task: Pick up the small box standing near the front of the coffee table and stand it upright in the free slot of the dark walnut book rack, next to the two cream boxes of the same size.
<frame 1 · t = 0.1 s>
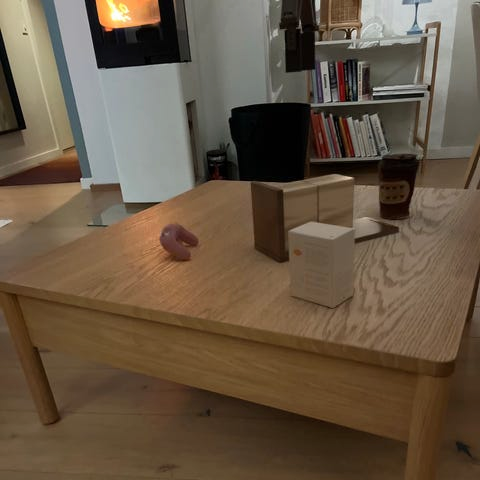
hand: (301, 71, 89), 30 cm above the table, tool pointing down, fingers open, 13 cm apart
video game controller: (181, 253, 95), on the table
small box: (321, 297, 73), on the table
coffee cup: (394, 217, 106), on the table
book rack: (327, 240, 95), on the table
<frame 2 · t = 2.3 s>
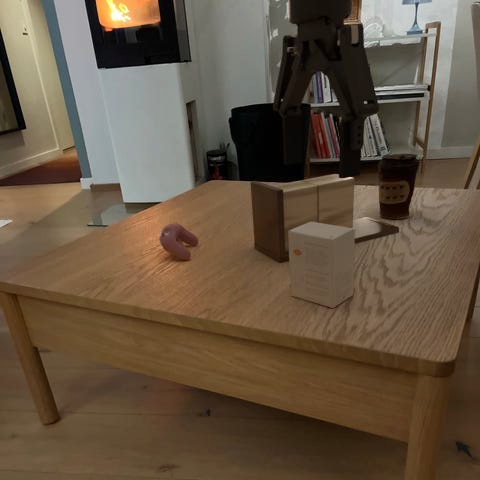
hand: (318, 169, 65), 19 cm above the table, tool pointing down, fingers open, 13 cm apart
nothing on the table moved.
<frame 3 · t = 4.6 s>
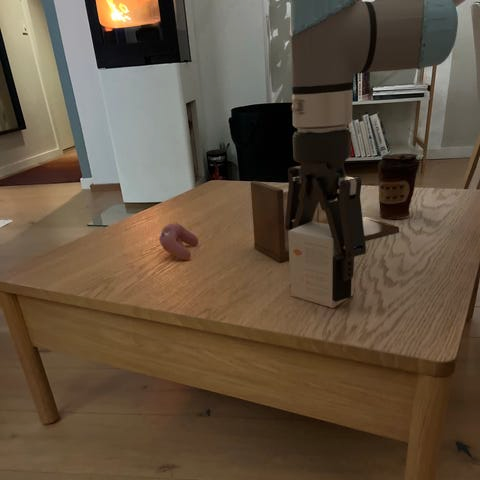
hand: (321, 287, 72), 2 cm above the table, tool pointing down, fingers closed on small box, 9 cm apart
small box: (321, 297, 73), on the table, touching gripper
everything else where it was.
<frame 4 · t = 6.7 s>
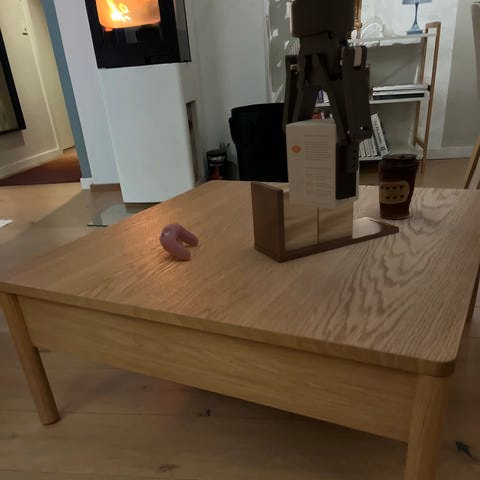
hand: (323, 191, 65), 16 cm above the table, tool pointing down, fingers closed on small box, 9 cm apart
small box: (323, 203, 66), point 14 cm above the table, touching gripper
everything else where it was.
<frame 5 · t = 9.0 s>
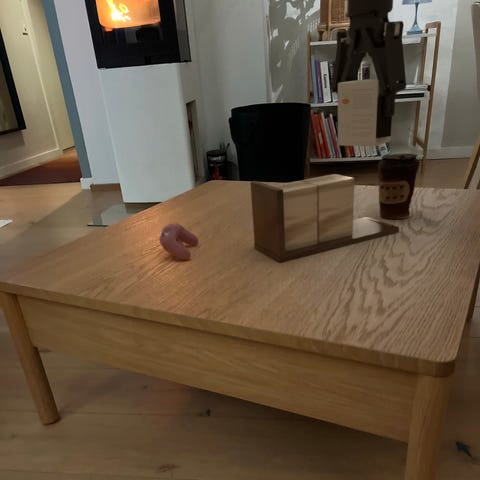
hand: (364, 135, 86), 19 cm above the table, tool pointing down, fingers closed on small box, 9 cm apart
small box: (363, 145, 87), point 18 cm above the table, touching gripper
everything else where it was.
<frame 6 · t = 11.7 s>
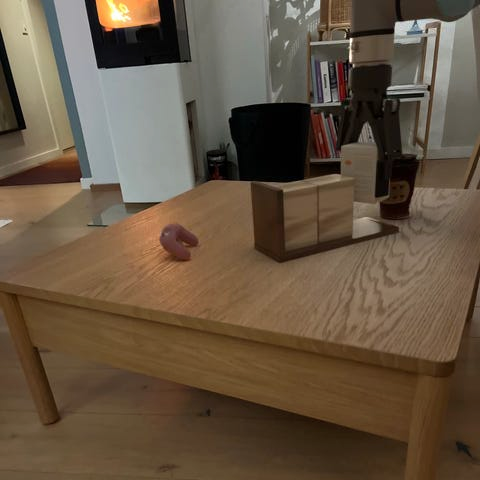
hand: (364, 191, 95), 8 cm above the table, tool pointing down, fingers closed on small box, 9 cm apart
small box: (364, 200, 96), point 6 cm above the table, touching gripper
everything else where it was.
when the fingers open (2 cm above the table, at t = 13.6 s): small box stays where it is, resting on book rack.
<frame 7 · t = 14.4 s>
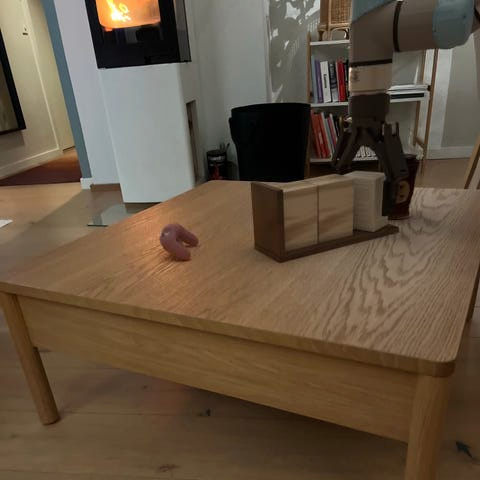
hand: (365, 208, 96), 5 cm above the table, tool pointing down, fingers open, 13 cm apart
small box: (363, 227, 98), point 1 cm above the table, touching book rack
everything else where it was.
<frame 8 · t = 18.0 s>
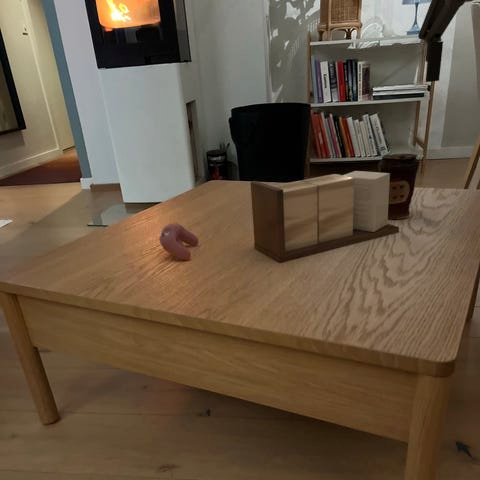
hand: (461, 80, 85), 27 cm above the table, tool pointing down, fingers open, 13 cm apart
nothing on the table moved.
at the end: small box inside the target area on the book rack (0.1 cm from its centre), point 0.8 cm above the book rack's base; small box tilted 0° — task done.
